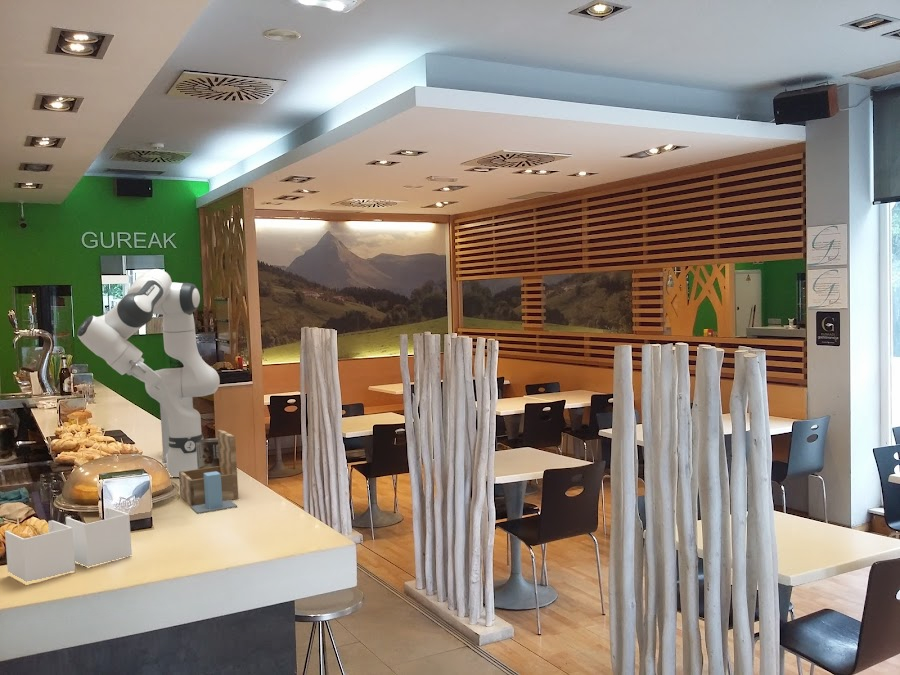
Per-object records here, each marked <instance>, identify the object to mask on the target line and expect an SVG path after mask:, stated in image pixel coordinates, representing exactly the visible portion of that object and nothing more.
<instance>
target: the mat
mask: <svg viewBox="0 0 900 675" xmlns="http://www.w3.org/2000/svg"><path fill="white" fill-rule="evenodd" d="M222 504H223V507H217V508H211V509H209V508H208V507H207V506H206V505H205V504H201V505H195V506H191V505H190V509H192V510H193V512H195V513H196V514H197V515H198V514H199V513H200V514H205V513H204V512H206V513H210V512H209V511H212V512H216V510H218V511H222V510H221V509H224V510H228V509H227V508H230V509H233V508H232V507H235V508H238V507H237V506H238V505H237V504H236V503H235V502H234V501H233V500H225V501H222Z"/></svg>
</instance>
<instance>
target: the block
mask: <svg viewBox="0 0 900 675" xmlns="http://www.w3.org/2000/svg"><path fill="white" fill-rule="evenodd" d="M204 491H205V505H206V506H207V507H208V508H209V509H211V508H217V507H223V504H222V486H221V474H220V473H219V472H217V471H215V472H208V473H204Z"/></svg>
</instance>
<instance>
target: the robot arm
mask: <svg viewBox="0 0 900 675" xmlns="http://www.w3.org/2000/svg"><path fill="white" fill-rule="evenodd" d="M200 296H201V295H200V290H199V288H198V287H197V286H196V285H195V284H194V283H190V282H175V281H174V282H172V278H171V275H170V274H169V273H168V272H167V271H165V270H163V269H159V268H153V269H151V270H148V271H146V272H144V273H143V274H141V275H139V276H138V277H137V278H136V279H135V280H134V282H132V283H131V285H130V286H129V289H128V290H127V293H126V295H124V296H123V297H122V299H120V301H118V302H117V303H116V304H115V305H114V306H113V307H112V308H110V310H109V311H108V312H107V313H105V314H102V315H100V316H96V315H90V316H88V317H86V318H85V319H84V321H82V323H81V324H80V326H79V327H78V330H77V332H76V333H77V334H76V336H77V337H78V339H79V340H80V342H81V343H82V344H83V345H84V346H85V347H87V349H88V350H90V351H91V352H92V353H94V354H95V356H97V357H99V358H101V359H102V360H104V361H105V362H106V365H108V366H110V367H111V368H112V369H113V370H115V371H116V372H117V373H118V374H120V375H121V376H123V375H125V374H126V375H127V376H132V377H134V378H136V379H137V380H139V381H140V382H143V383H144V387H145V388H144V389H145V391H146V393H147V394H148V396H149V397H150V398H152V399H154V400H156V402H158V403H159V405H160V404H161V405H162V407H163V408H164V409H165V411H166V414H167V417H168V422H169V430H170V437H169V440H168V442H169V450H168V452H167V454H166V456H164V457H163V456H162V457H161V463H162V464H164V466H165V468H167V470H168V472H169V473H170V475H171V476H173V477H179V472H181V471H188V470H195V469H198V466H197V452H196V442H198V441H199V440H201V439H204V434H203V432H202V421H201V420H202V418H201V417H202V416H201V414H200V412H199V411H198V410H197V409H195V408H194V407H193V408H191V407H189V406H186V405H185V404H183V402H182V398H186V397H192V398H198V397H199V398H201V397H205V396H209V395H214V394H215V393H216V392H217V390H218V389H219V387H220V383H221V382H220V379H221V378H220V375H219V374H218V371H217V370H216V369H215V368H213V367H212V366H210V365H209V364H208V363H206V362H205V360H204V359H203V358H202V356H201V355H200V353H199V349H198V344H197V335H196V323H195V318H194V314H193V313H194V312H196V311H197V309H198V308H199V307H200V303H201V301H200V300H201V297H200ZM154 314H155V315H163V316H162V334H163V335H162V338H163V349H164V352H165V354H166V355H168V356H169V357H170V358H172V359H174V360H176V361H177V360H178V361H179V362H181V364H183V367H174V368H173V367H172V368H170V367H169V368H161V369H157V370H153V369H152V368H151V367H149V365H147V364H146V363H144V362H145V358H143V357H142V356H143V354H144V353H143V352H142V351H141V350H140V349H139V348H138V347H136V346H135V344H133V343H131V342H130V341H129V340H128V339H129V338H130V337H131V336H133V335H134V334H135V333H137V331H139V330H140V329H141V328H142V327H143V326H145V325H147V324H148V323H150V321H151V320H152V319H153V317H154V316H153V315H154ZM164 466H163V467H164ZM173 477H172V478H173Z"/></svg>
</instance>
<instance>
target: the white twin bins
mask: <svg viewBox="0 0 900 675" xmlns="http://www.w3.org/2000/svg"><path fill="white" fill-rule="evenodd" d="M130 521H131V520H130V513H128V512H126V511H125V512H124V511H121V510H118V509H116V508H112V507H105V508H104V519H102V520H97V521H93V522H89V523H85V522H82V521H79V520H76V519H73V518H72V516H70V515H69V516H65V524H64V523H61V522H58V521H56V520H53V519H52V520H48V521H47V522H48V532H47V533H43V534H38V535H35V536H31V537H27V538H24V537H22V536H19V535H16V534H14V533H12V532H11V530H9V529H8V530H5V531H4V535H5V536H4V537H5V539H4V540H5V551H6V565H7V573H8V572H10V573H12V574H13V575H15V576H17V577H19V578H21V579H23V580H24V581H26V582H27V581H32V580H37V579H42V578H46V577H51V576H55V575H58V574H63V573H67V572H70V571H75V572H76V563H75V561H76V562H78V563H80V564H83V565H85V566H88V567H89V566H92V565H96V564H100V563H104V562H108V561H112V560H116V559H119V558H123V557H127V556H130V555H132V556H133V552H132V550H133V549H132V538H131V537H132V536H131V535H132V534H131V523H130Z"/></svg>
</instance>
